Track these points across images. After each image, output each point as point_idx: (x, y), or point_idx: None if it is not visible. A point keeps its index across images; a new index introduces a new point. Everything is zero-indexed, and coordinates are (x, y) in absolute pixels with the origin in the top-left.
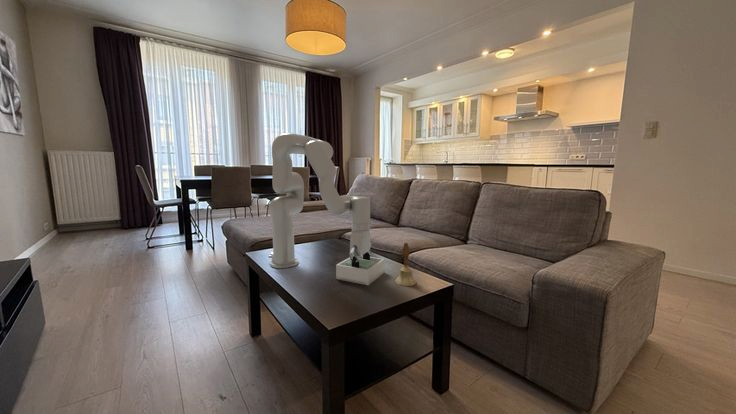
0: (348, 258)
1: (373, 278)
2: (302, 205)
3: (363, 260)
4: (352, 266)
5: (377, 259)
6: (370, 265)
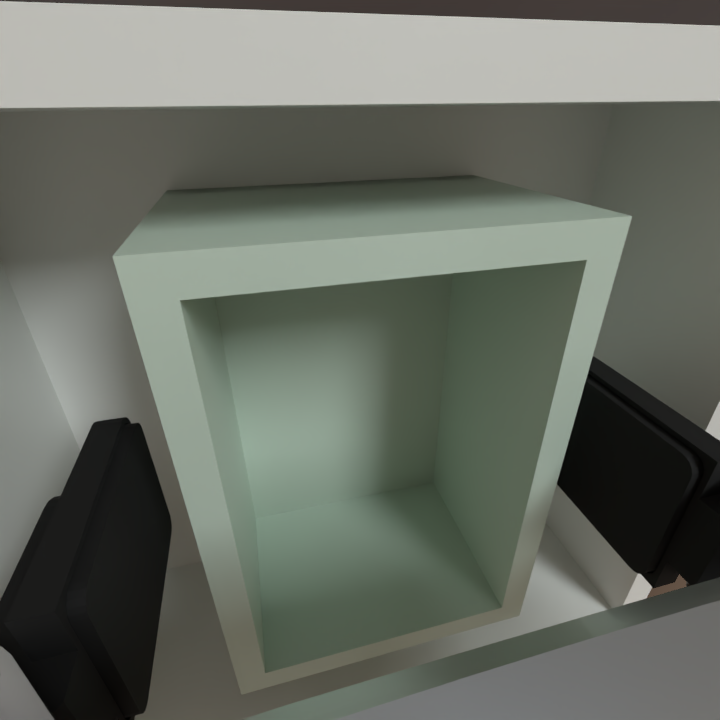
0: (542, 52)
1: None
2: None
3: (529, 451)
4: (31, 535)
5: None
6: (338, 647)
